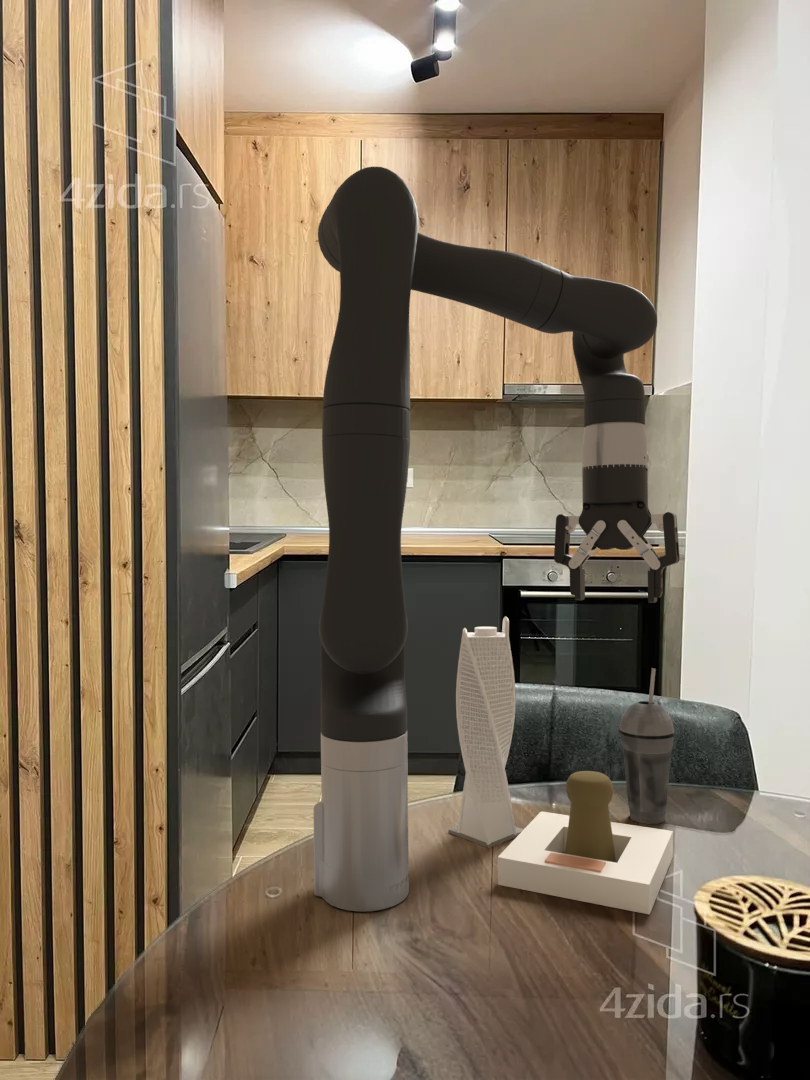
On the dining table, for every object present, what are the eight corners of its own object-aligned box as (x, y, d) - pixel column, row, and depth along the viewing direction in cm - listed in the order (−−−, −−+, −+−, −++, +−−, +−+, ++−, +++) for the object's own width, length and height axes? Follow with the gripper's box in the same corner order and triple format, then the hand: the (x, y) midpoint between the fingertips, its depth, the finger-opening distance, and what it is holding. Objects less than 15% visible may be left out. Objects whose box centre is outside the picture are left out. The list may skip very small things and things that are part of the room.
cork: (618, 884, 86) (618, 783, 86) (562, 879, 88) (561, 779, 88) (616, 862, 92) (616, 767, 92) (563, 857, 94) (562, 764, 94)
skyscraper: (534, 836, 100) (533, 614, 100) (492, 853, 95) (490, 619, 95) (485, 819, 107) (483, 610, 107) (442, 834, 101) (440, 614, 101)
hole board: (497, 884, 87) (497, 855, 87) (541, 834, 101) (541, 809, 101) (649, 914, 79) (649, 882, 79) (673, 856, 94) (672, 829, 94)
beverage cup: (608, 812, 109) (607, 666, 109) (654, 806, 111) (653, 663, 111) (639, 830, 102) (638, 674, 102) (687, 823, 104) (686, 671, 104)
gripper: (547, 465, 94) (548, 601, 94) (672, 458, 88) (673, 605, 88) (564, 469, 101) (565, 597, 101) (681, 464, 95) (683, 600, 95)
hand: (615, 600), depth 95 cm, fingers open, 8 cm apart
